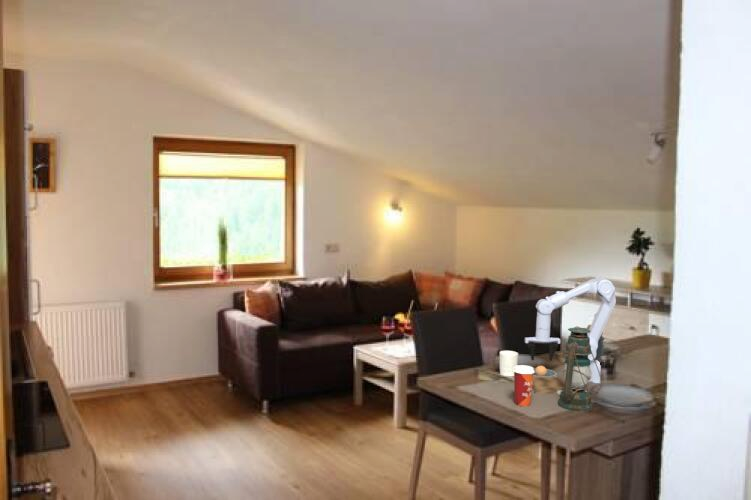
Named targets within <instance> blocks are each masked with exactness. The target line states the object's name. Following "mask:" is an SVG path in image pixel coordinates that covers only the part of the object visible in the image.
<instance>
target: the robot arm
mask: <svg viewBox="0 0 751 500" xmlns="http://www.w3.org/2000/svg"><path fill="white" fill-rule="evenodd" d="M587 293H594V294H598V296H599V298H600V300H601V303H600V305H599V307H598V310H596V311H597V312H596V314H595V316H594V318H593V320H592V323H591V324H590V325H591V326H590V329H589V330H590V331H591V332H590V333H587V335H588V337H589V338H590V345H591V351H592V354H593V356H594V359H595V358H596V350H597V348H598V340H599V338H600V336H601V334H602V333H603V331H604V329H605V327H606V325H607V323H608V322H609V319H610V316H611V315H612V313H613V310H614V308H615V306H616V303H617V299H616V298H617V297H616V287H615V286H614V284H613V282H612V281H611V280H609V279H607V278H605V277H603V276H596V277H595V278H591V279H589V280H588V281H587V280H586V282H583V283H581V284H579V285H578V286H575V287H574V288H572V289H570V290H568V291H564V290H561V291H560V290H557V291H555V294H552V295H550V296H546V297H545V298H540V299H539V300H538V301H537V302H536V304H535V308H536V310H537V311H536V322H535V323H536V324H535V336H533V337H531V336H530V337H524V343H525V344H526V345H527V347H528V350H529V353H530V360H531V361H535V349H536V345H535V344H548V346H549V352H548V353H549V355H548V359H549V361H553V357H554V355H555V354H556V351H557V349H558V348H559V345H560V344H561V338H559V337H550V336H551V323H552V322H551V321H552V318H551V316H552V315H551V314H552V312H553V310H557V309H559V308H561V307H564V306H566V305H568V304H569V302H570V300H572V299H573V298H576V297H579V296H582V295H584V294H587ZM602 335H603V334H602ZM592 354H590V355H588V359H590V363H591V365H590V370H591V372H592V376H591V373H590V376H591V379H590V381H588V382H592V383H593V384H601V379H600V376H601V375H602V374H601V372H602V371H601V370H602V369H601V368H602V364H601V365H600V362H599V361H598V360H595V361H596V364H597V366H596V364H595V361H594V359H593V356H592ZM597 367H598V369H597ZM598 370H599V372H600V376H599V372H598Z"/></svg>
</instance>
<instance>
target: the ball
mask: <svg viewBox="0 0 751 500" xmlns="http://www.w3.org/2000/svg"><path fill="white" fill-rule="evenodd" d="M535 368H536V370H535V373H536V375H537V376H545V375H546V374H547V369H548V368H546V367H545V366H544V365H538V366H537V367H535Z"/></svg>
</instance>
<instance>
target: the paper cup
mask: <svg viewBox="0 0 751 500" xmlns="http://www.w3.org/2000/svg"><path fill="white" fill-rule="evenodd" d="M533 368H534V367H533V366H531V365H525V364H524V365H523V364H521V365H519V364H517V366H515V368H514V370H513V371H514V376H513V377H514V379H513V382H514V405H516V406H518V405H520V406H519V407H522V406H527V407H530V406H531V400H532V392H533V391H532V390H533V389H532V383H533V374H534V372H535V371H534V369H533ZM529 405H530V406H529Z"/></svg>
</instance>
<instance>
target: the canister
mask: <svg viewBox="0 0 751 500" xmlns="http://www.w3.org/2000/svg"><path fill="white" fill-rule="evenodd" d="M590 326H591V324H588V325H587V327H584V328H585V329H588V330H589V329H590ZM603 334H604V333H603V332H602V334H601V336H600V338H599V340H598V348H597V350H596V358H595V360H597V358H598V357H600V356H603V357H604V350H605V349H604V347H605V344H604V341H605V337H604V336H603Z"/></svg>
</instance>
